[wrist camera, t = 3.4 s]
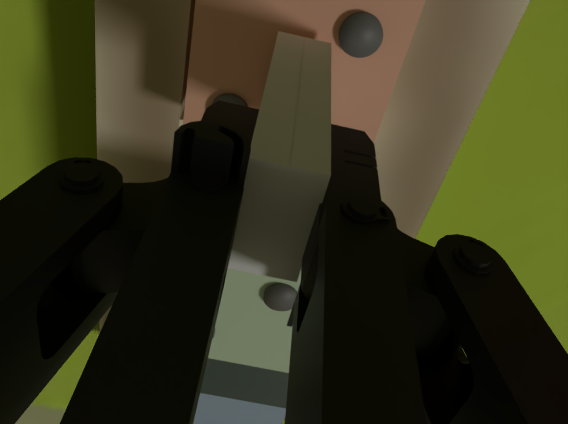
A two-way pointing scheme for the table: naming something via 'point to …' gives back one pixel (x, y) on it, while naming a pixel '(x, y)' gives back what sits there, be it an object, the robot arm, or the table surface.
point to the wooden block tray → (393, 129)
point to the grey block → (241, 395)
